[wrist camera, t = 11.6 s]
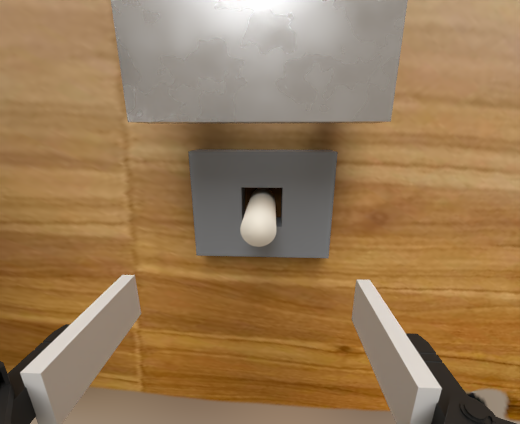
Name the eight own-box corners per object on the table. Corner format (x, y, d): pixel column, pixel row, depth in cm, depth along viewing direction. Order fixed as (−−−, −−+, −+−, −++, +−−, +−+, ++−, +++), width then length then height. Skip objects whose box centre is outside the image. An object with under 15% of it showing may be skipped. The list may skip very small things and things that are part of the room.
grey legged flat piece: (188, 126, 35) (128, 121, 20) (180, 21, 31) (100, -76, 17) (339, 126, 34) (390, 121, 19) (349, 18, 30) (419, -88, 16)
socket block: (203, 243, 40) (196, 255, 36) (197, 149, 35) (188, 151, 32) (322, 245, 39) (328, 258, 35) (330, 149, 35) (337, 152, 31)
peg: (250, 211, 38) (240, 246, 26) (250, 187, 37) (239, 212, 25) (275, 212, 38) (276, 247, 26) (275, 187, 37) (276, 213, 25)
